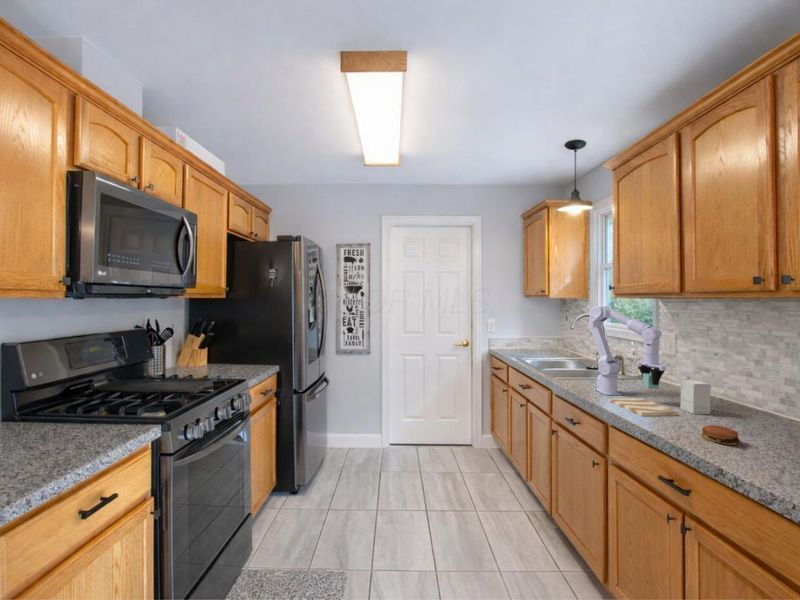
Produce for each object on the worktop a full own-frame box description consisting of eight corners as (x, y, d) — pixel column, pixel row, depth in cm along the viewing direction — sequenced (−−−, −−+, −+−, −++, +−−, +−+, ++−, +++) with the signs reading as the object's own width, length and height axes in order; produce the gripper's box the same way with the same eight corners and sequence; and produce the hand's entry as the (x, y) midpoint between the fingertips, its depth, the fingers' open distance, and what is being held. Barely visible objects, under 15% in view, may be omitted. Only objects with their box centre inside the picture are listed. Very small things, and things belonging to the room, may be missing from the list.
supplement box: (711, 414, 151) (711, 384, 151) (692, 414, 151) (693, 383, 151) (696, 409, 159) (697, 380, 158) (679, 408, 159) (680, 379, 159)
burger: (695, 434, 128) (695, 421, 128) (725, 436, 127) (725, 423, 127) (714, 446, 119) (715, 431, 118) (747, 448, 117) (747, 434, 117)
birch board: (609, 401, 168) (609, 398, 168) (642, 401, 169) (642, 398, 169) (641, 416, 148) (641, 412, 148) (678, 415, 149) (678, 411, 149)
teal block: (642, 386, 170) (642, 373, 170) (652, 386, 170) (653, 373, 169) (648, 388, 165) (648, 375, 165) (658, 388, 165) (659, 375, 165)
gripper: (631, 351, 174) (631, 379, 174) (655, 356, 160) (654, 387, 160) (645, 351, 175) (645, 379, 175) (670, 356, 160) (669, 387, 160)
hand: (650, 383), depth 167 cm, fingers closed on teal block, 5 cm apart
